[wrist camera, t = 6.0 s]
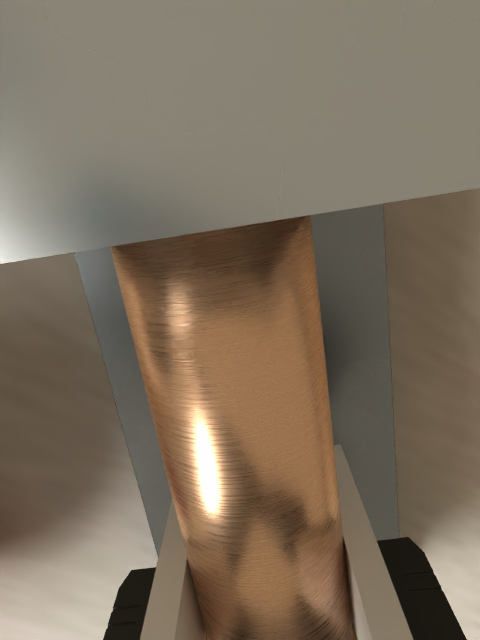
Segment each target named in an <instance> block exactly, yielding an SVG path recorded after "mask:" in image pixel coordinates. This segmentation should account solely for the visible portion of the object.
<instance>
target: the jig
mask: <svg viewBox="0 0 480 640" xmlns="http://www.w3.org/2000/svg"><path fill="white" fill-rule="evenodd" d="M479 188H480V0H0V264H3V263H9V262H15V261H22V260H28V259H34V258H41V257H47V256H53V255H60V254H66V253H72V252H74V255H75V258H76V262H77V266H78V269H79V273H80V276H81V280H82V284H83V287H84V291H85V294H86V298H87V302H88V305H89V309H90V313H91V316H92V320H93V323H94V327H95V331H96V334H97V338H98V342H99V345H100V349H101V352H102V356H103V360H104V363H105V367H106V370H107V374H108V378H109V381H110V385H111V389H112V392H113V396H114V399H115V403H116V407H117V410H118V414H119V418H120V421H121V425H122V428H123V432H124V436H125V439H126V443H127V446H128V450H129V454H130V457H131V461H132V465H133V468H134V472H135V475H136V479H137V483H138V486H139V490H140V494H141V497H142V501H143V504H144V508H145V512H146V515H147V519H148V522H149V526H150V530H151V533H152V537H153V541H154V544H155V548H156V551H157V555H158V558H159V554H160V549H161V545H162V540H163V536H164V532H165V527H166V523H167V518H168V514H169V510H170V505H171V501H172V494H171V490H170V486H169V482H168V478H167V474H166V470H165V466H164V462H163V458H162V454H161V450H160V446H159V442H158V438H157V434H156V430H155V426H154V422H153V418H152V414H151V410H150V406H149V402H148V398H147V394H146V390H145V386H144V382H143V378H142V374H141V370H140V366H139V362H138V358H137V354H136V350H135V346H134V342H133V338H132V334H131V330H130V326H129V321H128V317H127V313H126V309H125V305H124V301H123V297H122V293H121V289H120V285H119V281H118V277H117V273H116V269H115V265H114V261H113V257H112V253H111V249H110V247H111V246H117V245H123V244H130V243H136V242H142V241H149V240H155V239H161V238H168V237H174V236H180V235H187V234H193V233H199V232H206V231H212V230H218V229H225V228H231V227H238V226H244V225H250V224H257V223H263V222H269V221H276V220H282V219H288V218H295V217H301V216H307V215H311V221H312V231H313V241H314V251H315V261H316V271H317V281H318V291H319V301H320V311H321V321H322V331H323V341H324V351H325V361H326V371H327V381H328V391H329V401H330V410H331V420H332V430H333V440H334V445H339V444H341V447H342V449H343V452H344V455H345V457H346V460H347V463H348V465H349V468H350V471H351V473H352V476H353V479H354V481H355V484H356V487H357V490H358V492H359V495H360V498H361V500H362V503H363V506H364V508H365V511H366V514H367V516H368V519H369V522H370V524H371V527H372V530H373V532H374V535H375V538H376V541H379V540H388V539H396V538H399V522H398V501H397V481H396V460H395V440H394V419H393V398H392V378H391V357H390V337H389V316H388V295H387V275H386V254H385V234H384V213H383V204H384V203H390V202H396V201H403V200H409V199H415V198H422V197H428V196H434V195H441V194H447V193H453V192H460V191H466V190H472V189H479ZM351 620H352V627H353V629H354V631H355V627H354V623H353V619H352V615H351ZM355 634H356V631H355ZM356 636H357V635H356ZM206 640H208V639H207V635H206Z"/></svg>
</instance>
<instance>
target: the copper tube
mask: <svg viewBox="0 0 480 640" xmlns="http://www.w3.org/2000/svg"><path fill="white" fill-rule="evenodd" d="M110 249H111V253H112V257H113V261H114V265H115V269H116V273H117V277H118V281H119V285H120V289H121V293H122V297H123V301H124V305H125V309H126V313H127V317H128V321H129V326H130V330H131V334H132V338H133V342H134V346H135V350H136V354H137V358H138V362H139V366H140V370H141V374H142V378H143V382H144V386H145V390H146V394H147V398H148V402H149V406H150V410H151V414H152V418H153V422H154V426H155V430H156V434H157V438H158V442H159V446H160V450H161V454H162V458H163V462H164V466H165V470H166V474H167V478H168V482H169V486H170V490H171V494H172V498H173V502H174V506H175V510H176V514H177V518H178V522H179V526H180V530H181V534H182V538H183V542H184V546H185V550H186V554H187V559H188V563H189V567H190V571H191V575H192V579H193V583H194V587H195V591H196V595H197V599H198V603H199V607H200V611H201V615H202V619H203V623H204V627H205V631H206V635H207V639H208V640H358V639H357V636H356V634H355V631H354V629H353V627H352V620H351V610H350V600H349V590H348V580H347V570H346V560H345V550H344V540H343V530H342V520H341V510H340V500H339V490H338V480H337V470H336V460H335V450H334V440H333V430H332V420H331V410H330V401H329V391H328V381H327V371H326V361H325V351H324V341H323V331H322V321H321V311H320V301H319V291H318V281H317V271H316V261H315V251H314V241H313V231H312V221H311V215H307V216H301V217H295V218H288V219H282V220H276V221H269V222H263V223H257V224H250V225H244V226H238V227H231V228H225V229H218V230H212V231H206V232H199V233H193V234H187V235H180V236H174V237H168V238H161V239H155V240H149V241H142V242H136V243H130V244H123V245H117V246H111V247H110Z"/></svg>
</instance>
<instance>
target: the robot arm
mask: <svg viewBox="0 0 480 640" xmlns="http://www.w3.org/2000/svg"><path fill="white" fill-rule="evenodd" d="M334 450H335V460H336V470H337V480H338V490H339V500H340V510H341V520H342V530H343V540H344V550H345V560H346V570H347V580H348V590H349V600H350V610H351V615H352V619H353V623H354V627H355V631H356V635H357V639H358V640H467V639H466V637H465V635H464V633H463V631H462V629H461V627H460V625H459V623H458V621H457V619H456V617H455V615H454V613H453V611H452V609H451V607H450V604H449V602H448V600H447V598H446V596H445V594H444V592H443V591H442V590H441V586H440V584H439V582H438V580H437V578H436V576H435V575H434V573H433V570H432V568H431V566H430V564H429V562H428V560H427V558H426V555H425V553H424V552H423V551H422V550H421V549H420V548H419V547H418V546H417V545H416V544H415V543H414V542H413V541H412V540H411V539H410V538H409V537H405V538H396V539H388V540H379V541H376V538H375V535H374V532H373V530H372V527H371V524H370V522H369V519H368V516H367V514H366V511H365V508H364V506H363V503H362V500H361V498H360V495H359V492H358V490H357V487H356V484H355V481H354V479H353V476H352V473H351V471H350V468H349V465H348V463H347V460H346V457H345V455H344V452H343V449H342V447H341V444H339V445H334ZM103 640H206V631H205V627H204V623H203V619H202V615H201V611H200V607H199V603H198V599H197V595H196V591H195V587H194V583H193V579H192V575H191V571H190V567H189V563H188V559H187V554H186V550H185V546H184V542H183V538H182V534H181V530H180V526H179V522H178V518H177V514H176V510H175V506H174V502H173V498H172V501H171V505H170V510H169V514H168V518H167V523H166V527H165V532H164V536H163V540H162V545H161V549H160V554H159V558H158V562H157V567H155V568H146V569H138V570H131V572H130V573H129V575H128V576H127V578H126V579H125V580H124V582H123V583H122V585H121V586H120V588H119V590H118V593H117V597H116V600H115V603H114V606H113V612H112V613H111V616H110V619H109V623H108V629H106V632H105V635H104V639H103Z"/></svg>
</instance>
